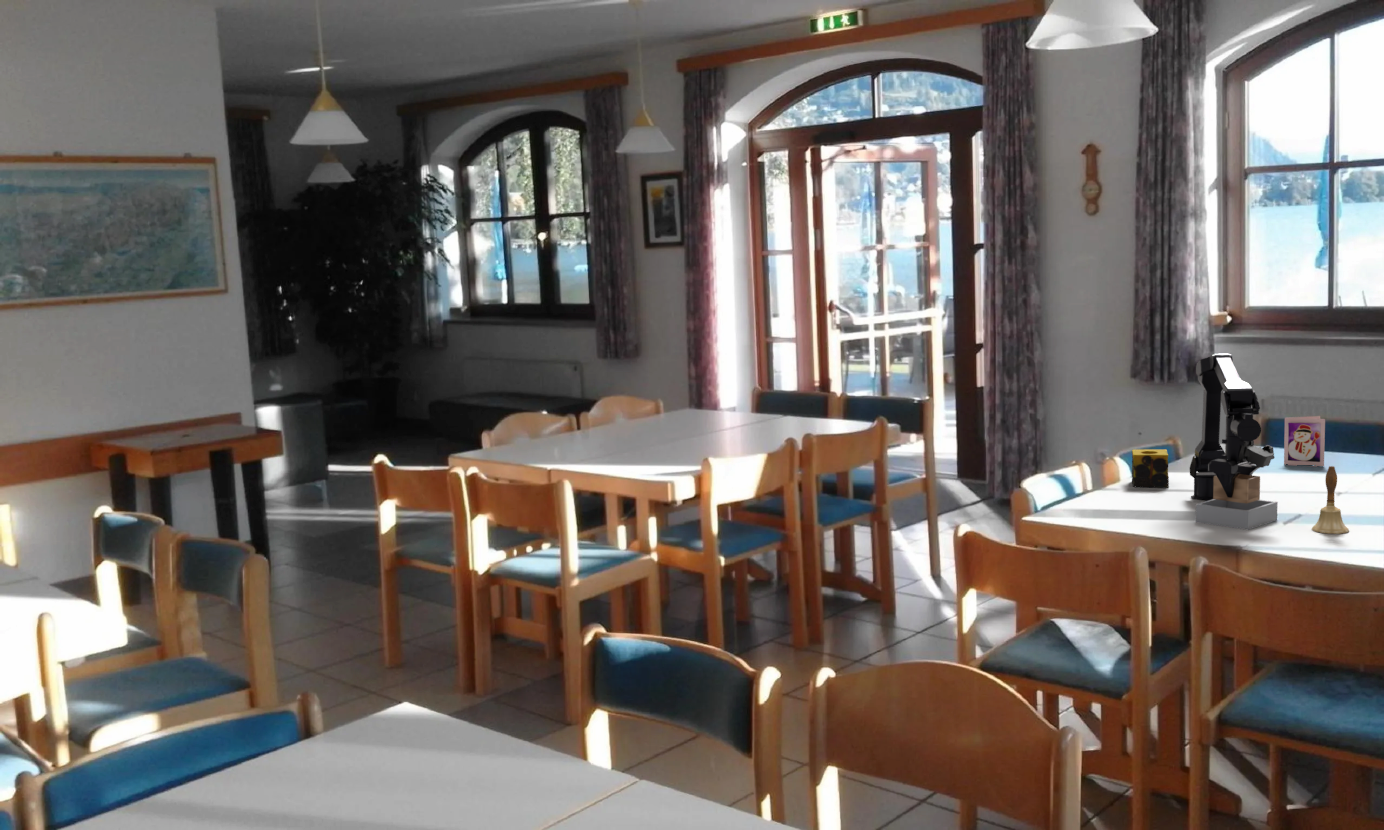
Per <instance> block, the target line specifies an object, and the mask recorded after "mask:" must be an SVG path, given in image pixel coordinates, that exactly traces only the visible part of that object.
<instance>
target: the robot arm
mask: <svg viewBox="0 0 1384 830" xmlns="http://www.w3.org/2000/svg"><path fill="white" fill-rule="evenodd" d="M1195 373H1196V376H1197V381H1198V383H1199V384H1200V385H1201V387H1202V389H1203V400H1202V402H1203V403H1202V420H1201V421H1202V423H1201V429H1202V430H1201V440H1200V441H1199V443H1198V444H1197V446H1196V447H1195V449H1194V455H1193V456H1192V459H1191V462H1190V465H1189V476H1190V477H1192V478H1193V495H1191V496H1190V498H1191V499H1195V500H1202V501H1203V500H1204V501H1208V500H1212V499H1213V489H1214V476H1217V478H1218V479H1219V481H1220V483H1221V485H1222V487H1223V489H1224V491H1225V493H1226V495H1227V497H1229V498H1232V496H1233V490H1234V483H1235V478H1236V477H1237V476H1238V475H1239V474H1243V475H1252V476H1253V474H1254V472H1256V471H1258V469H1260V468H1265V467H1268V466H1270V465H1271V464H1270V463H1271V461H1272V460H1274V459H1275V453H1274V447H1273V446H1271V445H1270V444H1269V445H1268V444H1267V445H1264V446H1263V447H1261V446H1257V445H1255V440H1257V439H1258V438H1259V436H1260V435H1261V433H1262V427H1261V424H1260V423H1259V422H1258V421H1257V420H1255V419H1254V415H1256V416H1257V415H1260V409H1261V407H1260V403H1259V402H1260V401H1259V400H1258V396H1257V394H1256V391H1255V390H1254V389H1253V388H1252V386H1251V384H1249V383H1248V382H1246V381H1244V380H1242V379H1241V377H1240V374H1239V373H1238V370H1237V368H1236V366H1235V364H1234V362H1233V355H1232V354H1230V353H1214V354H1211V355H1210V356H1208V357H1204V358H1201V359H1199V361H1198V362H1197V363H1196V365H1195ZM1221 407H1222V408H1223V412H1224V414H1225V438H1223V439H1222V440H1221V444H1224V445H1225V446H1224V447H1225V448H1224V449H1223V447H1222V446H1221V444H1220V431H1221Z"/></svg>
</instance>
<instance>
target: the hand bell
mask: <svg viewBox="0 0 1384 830" xmlns="http://www.w3.org/2000/svg"><path fill="white" fill-rule="evenodd" d="M1337 483H1338V475H1337V471H1336V467H1335V466H1333V465H1331V466H1330V465H1329V466H1328V469H1327V472H1326V474H1325V487H1326V490H1327V491H1326V493H1327V496H1326V506H1324V507H1321V508H1320V511H1319V518H1318V519H1317V522H1316V523H1315V525H1313V526H1312V528H1311V530H1312V531H1313V532H1314V533H1315V532H1316V533H1319V532H1320V534H1325V535H1326V534H1334V535H1338V534H1339V535H1340V534H1347V533H1349V532H1350V530H1349V528H1348V527H1347V526H1346V525H1345V523H1344V521H1343V518H1342V511H1341V509H1340V508H1338V507H1336V506H1335V493H1336V492H1335V491H1336V488H1337Z"/></svg>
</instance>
